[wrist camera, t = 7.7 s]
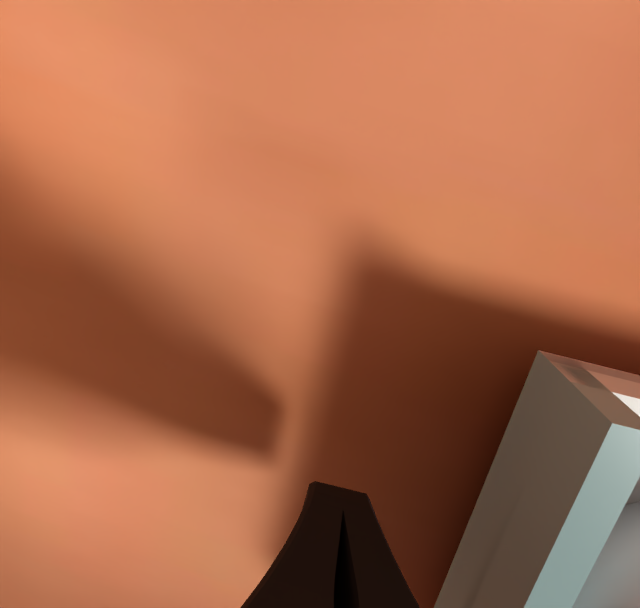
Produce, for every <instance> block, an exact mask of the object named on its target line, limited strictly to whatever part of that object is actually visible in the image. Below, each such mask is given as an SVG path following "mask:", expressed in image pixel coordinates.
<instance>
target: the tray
mask: <svg viewBox="0 0 640 608" xmlns="http://www.w3.org/2000/svg"><path fill="white" fill-rule="evenodd" d="M636 502H640V375H637V374H633V373H629V372H625V371H621V370H617V369H613V368H609V367H605V366H601V365H597V364H593V363H589V362H585V361H581V360H577V359H573V358H569V357H565V356H561V355H557V354H553V353H549V352H544V351H540V350H538V352H537V355H536V357H535V360H534V362H533V364H532V367H531V369H530V372H529V374H528V377H527V379H526V382H525V384H524V387H523V389H522V392H521V394H520V396H519V399H518V401H517V404H516V406H515V409H514V411H513V414H512V416H511V419H510V421H509V424H508V426H507V428H506V431H505V433H504V436H503V438H502V441H501V443H500V446H499V448H498V451H497V453H496V456H495V458H494V460H493V463H492V465H491V468H490V470H489V473H488V475H487V478H486V480H485V483H484V485H483V488H482V490H481V493H480V495H479V497H478V500H477V502H476V505H475V507H474V510H473V512H472V515H471V517H470V520H469V522H468V525H467V527H466V529H465V532H464V534H463V537H462V539H461V542H460V544H459V547H458V549H457V552H456V554H455V557H454V559H453V561H452V564H451V566H450V569H449V571H448V574H447V576H446V579H445V581H444V584H443V586H442V589H441V591H440V593H439V596H438V598H437V601H436V603H435V606H434V608H572V606H573V605H574V603H575V601H576V599H577V597H578V595H579V593H580V591H581V589H582V587H583V585H584V583H585V581H586V579H587V578H588V576H589V574H590V572H591V570H592V568H593V566H594V564H595V562H596V560H597V558H598V556H599V554H600V552H601V550H602V549H603V547H604V545H605V543H606V541H607V539H608V537H609V535H610V533H611V531H612V529H613V527H614V525H615V523H616V522H617V520H618V518H619V516H620V514H621V512H622V510H623V508H624V506H625V505H628V504H632V503H636Z"/></svg>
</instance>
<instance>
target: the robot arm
mask: <svg viewBox="0 0 640 608" xmlns="http://www.w3.org/2000/svg"><path fill="white" fill-rule="evenodd" d="M241 608H420V607H419V605H418V603H417V602H416V600H415V598H414V596H413V594H412V593H411V591H410V589H409V587H408V585H407V583H406V581H405V579H404V577H403V575H402V573H401V571H400V569H399V567H398V565H397V563H396V561H395V559H394V556H393V554H392V552H391V550H390V548H389V546H388V543H387V541H386V539H385V537H384V534H383V532H382V530H381V527H380V525H379V522H378V520H377V518H376V515H375V512H374V510H373V507H372V505H371V502H370V499H369V498H368V496H367V494H365V493H361V492H357V491H353V490H349V489H345V488H341V487H337V486H333V485H329V484H324V483H320V482H316V481H315V482H313V483H311V484H309V488H308V491H307V495H306V499H305V502H304V506H303V509H302V512H301V514H300V516H299V519H298V521H297V523H296V525H295V526H294V528H293V530H292V532H291V534H290V536H289V538H288V540H287V541H286V543H285V545H284V546H283V548H282V550H281V551H280V553H279V554H278V556H277V557H276V559H275V561H274V562H273V564H272V565H271V567H270V568H269V570H268V571H267V573H266V574H265V576H264V577H263V579H262V580H261V581H260V583H259V584H258V585H257V587H256V588H255V590H254V591H253V592H252V593H251V595H250V596H249V597H248V599H247V600H246V601H245V603H244V604H243V605H242V606H241Z"/></svg>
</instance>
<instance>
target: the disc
mask: <svg viewBox="0 0 640 608" xmlns="http://www.w3.org/2000/svg"><path fill="white" fill-rule="evenodd" d="M572 608H640V502H636V503H632V504H628V505H625V506H624V508H623V510H622V512H621V514H620V516H619V518H618V520H617V522H616V523H615V525H614V527H613V529H612V531H611V533H610V535H609V537H608V539H607V541H606V543H605V545H604V547H603V549H602V550H601V552H600V554H599V556H598V558H597V560H596V562H595V564H594V566H593V568H592V570H591V572H590V574H589V576H588V578H587V579H586V581H585V583H584V585H583V587H582V589H581V591H580V593H579V595H578V597H577V599H576V601H575V603H574V605H573V606H572Z"/></svg>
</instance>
